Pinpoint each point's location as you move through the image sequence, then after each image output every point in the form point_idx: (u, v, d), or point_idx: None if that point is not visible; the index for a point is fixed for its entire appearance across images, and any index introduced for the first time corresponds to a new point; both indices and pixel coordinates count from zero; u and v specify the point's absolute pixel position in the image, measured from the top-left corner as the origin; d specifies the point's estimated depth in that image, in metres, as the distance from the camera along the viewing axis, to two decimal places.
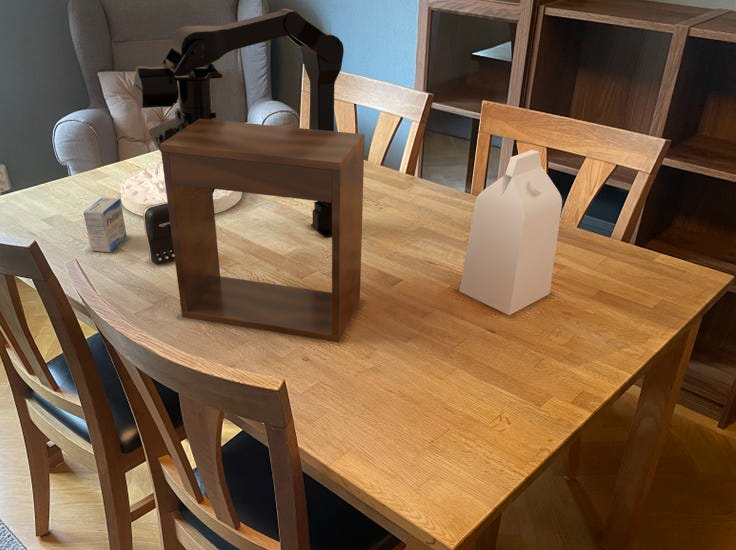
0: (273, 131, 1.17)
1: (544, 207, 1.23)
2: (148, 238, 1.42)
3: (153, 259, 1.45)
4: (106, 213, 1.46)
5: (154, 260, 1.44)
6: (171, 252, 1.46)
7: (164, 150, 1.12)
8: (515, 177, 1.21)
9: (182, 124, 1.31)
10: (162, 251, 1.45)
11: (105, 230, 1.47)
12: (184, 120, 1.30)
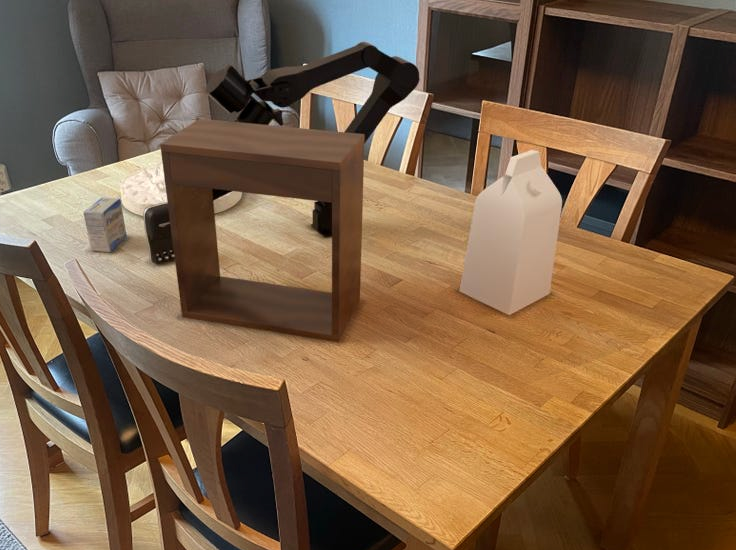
0: (273, 131, 1.17)
1: (544, 207, 1.23)
2: (148, 238, 1.42)
3: (153, 259, 1.45)
4: (106, 213, 1.46)
5: (154, 260, 1.44)
6: (171, 252, 1.46)
7: (164, 150, 1.12)
8: (515, 177, 1.21)
9: None
10: (162, 251, 1.45)
11: (105, 230, 1.47)
12: None
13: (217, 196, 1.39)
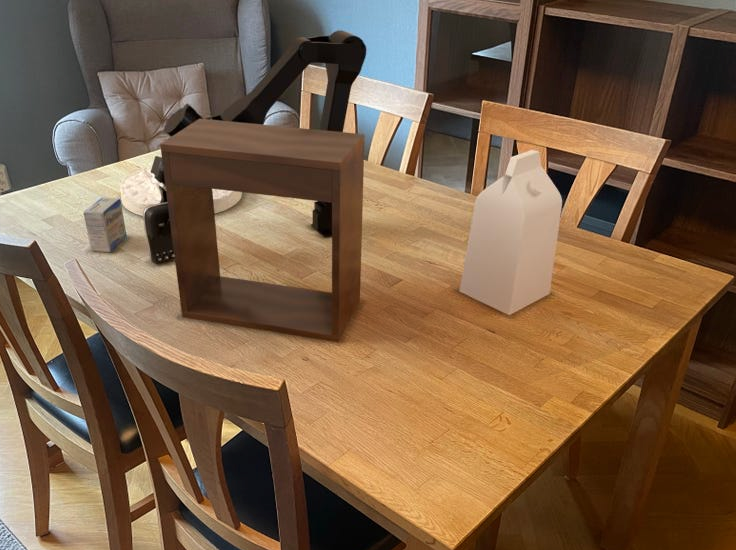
0: (273, 131, 1.17)
1: (544, 207, 1.23)
2: (148, 238, 1.42)
3: (153, 259, 1.45)
4: (106, 213, 1.46)
5: (154, 260, 1.44)
6: (171, 251, 1.46)
7: (164, 150, 1.12)
8: (515, 177, 1.21)
9: None
10: (162, 251, 1.45)
11: (105, 230, 1.47)
12: None
13: None
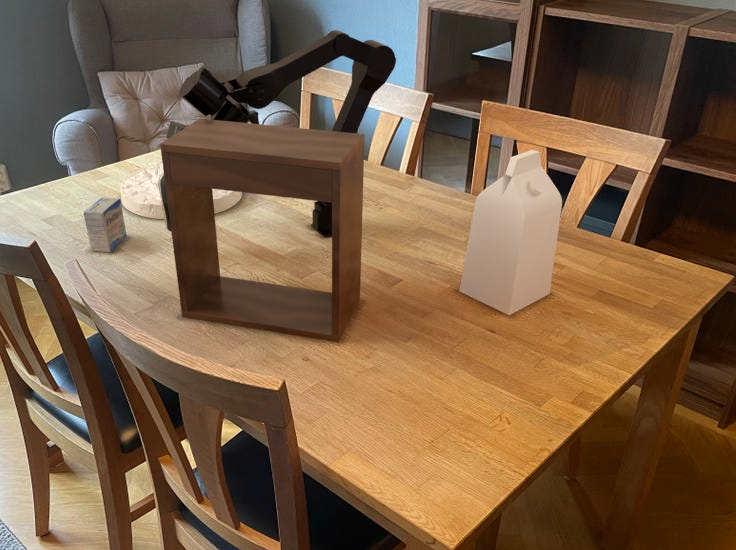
0: (273, 131, 1.17)
1: (544, 207, 1.23)
2: (164, 205, 1.41)
3: (169, 227, 1.43)
4: (106, 213, 1.46)
5: (170, 228, 1.43)
6: None
7: (164, 150, 1.12)
8: (515, 177, 1.21)
9: None
10: None
11: (105, 230, 1.47)
12: None
13: None
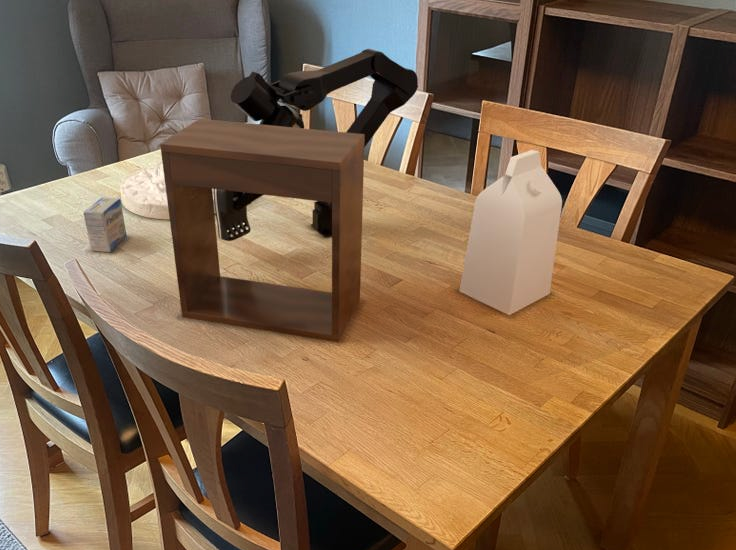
0: (273, 131, 1.17)
1: (544, 207, 1.23)
2: (219, 215, 1.39)
3: (224, 236, 1.41)
4: (106, 213, 1.46)
5: (226, 237, 1.41)
6: (238, 227, 1.43)
7: (164, 150, 1.12)
8: (515, 177, 1.21)
9: None
10: (231, 227, 1.42)
11: (105, 230, 1.47)
12: None
13: (246, 203, 1.38)
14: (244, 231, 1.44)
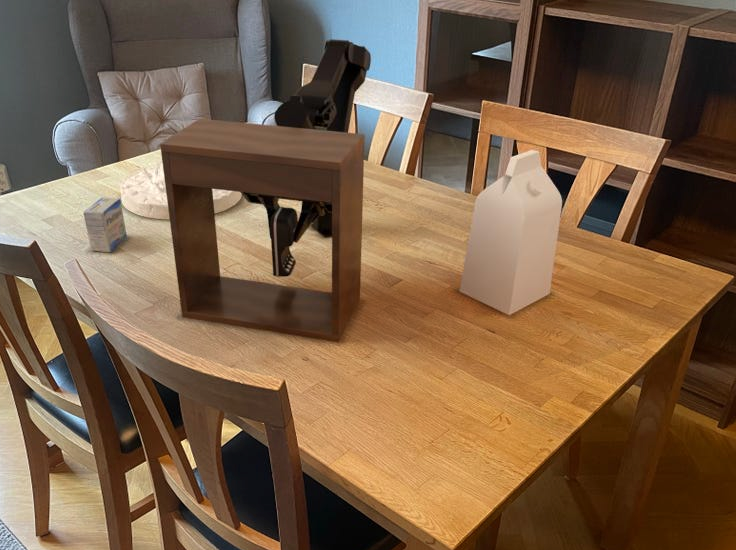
0: (273, 131, 1.17)
1: (544, 207, 1.23)
2: (279, 250, 1.29)
3: (283, 272, 1.32)
4: (106, 213, 1.46)
5: (285, 273, 1.32)
6: (287, 260, 1.35)
7: (164, 150, 1.12)
8: (515, 177, 1.21)
9: None
10: (284, 261, 1.33)
11: (105, 230, 1.47)
12: None
13: (302, 233, 1.31)
14: (292, 263, 1.36)
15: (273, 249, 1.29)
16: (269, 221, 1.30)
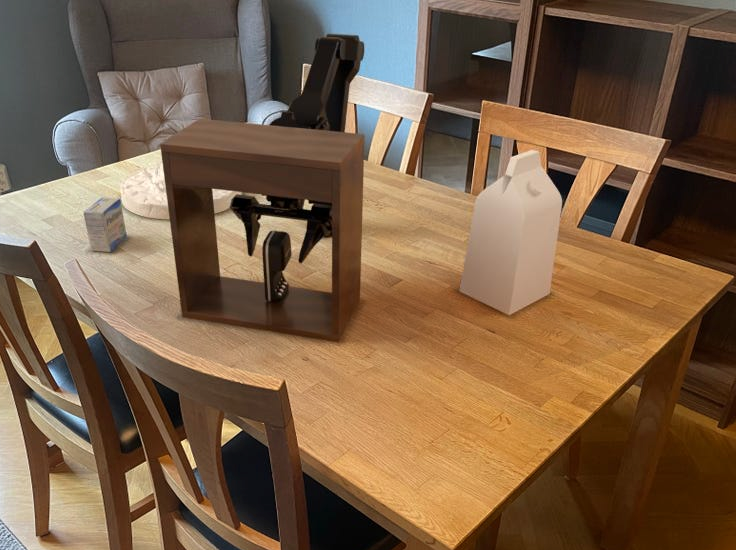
0: (273, 131, 1.17)
1: (544, 207, 1.23)
2: (271, 275, 1.27)
3: (275, 296, 1.30)
4: (106, 213, 1.46)
5: (277, 297, 1.30)
6: (279, 284, 1.33)
7: (164, 150, 1.12)
8: (515, 177, 1.21)
9: None
10: (277, 285, 1.31)
11: (105, 230, 1.47)
12: None
13: (307, 253, 1.28)
14: (285, 287, 1.34)
15: (265, 273, 1.27)
16: (247, 238, 1.28)
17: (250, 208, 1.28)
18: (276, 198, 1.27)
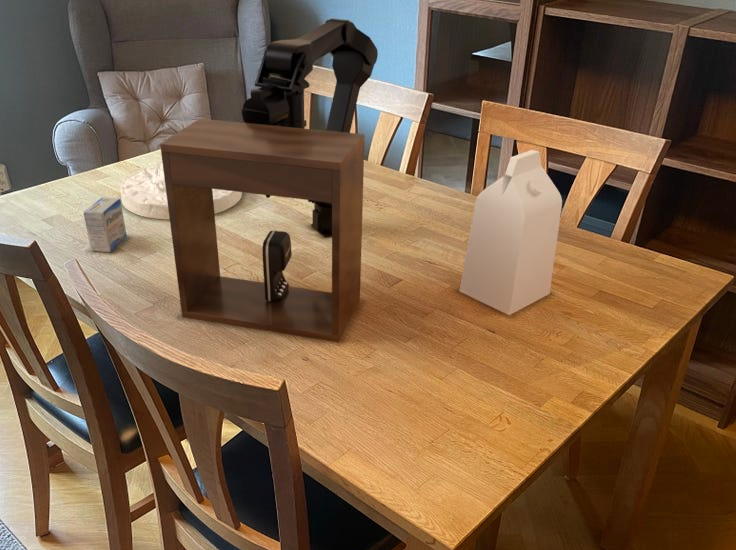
0: (273, 131, 1.17)
1: (544, 207, 1.23)
2: (271, 275, 1.27)
3: (275, 296, 1.30)
4: (106, 213, 1.46)
5: (277, 297, 1.30)
6: (279, 284, 1.33)
7: (164, 150, 1.12)
8: (515, 177, 1.21)
9: None
10: (277, 285, 1.31)
11: (105, 230, 1.47)
12: None
13: None
14: (285, 287, 1.34)
15: (265, 273, 1.27)
16: None
17: None
18: None
